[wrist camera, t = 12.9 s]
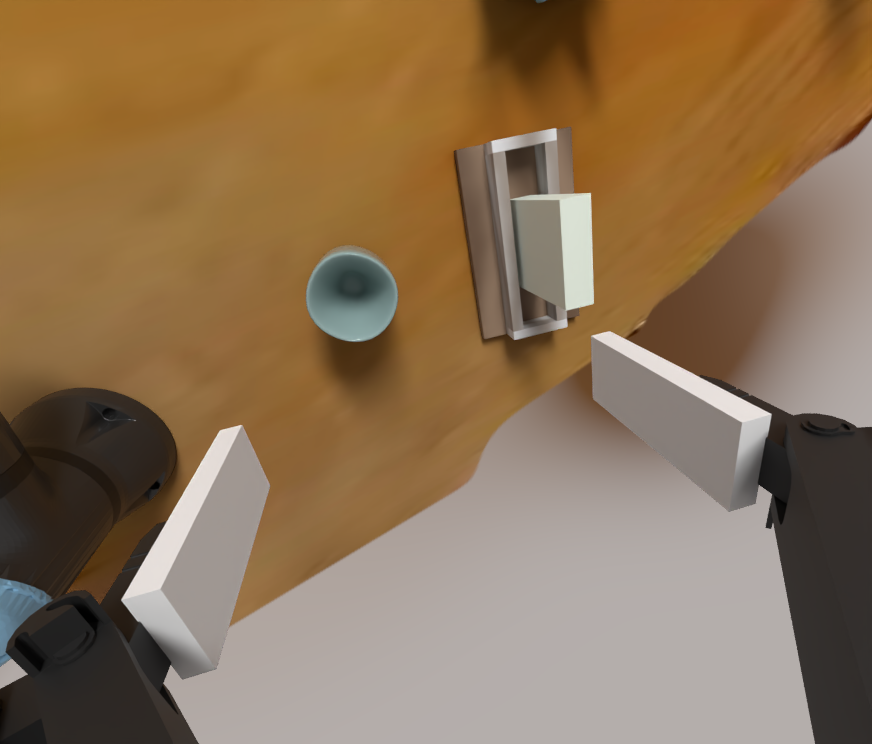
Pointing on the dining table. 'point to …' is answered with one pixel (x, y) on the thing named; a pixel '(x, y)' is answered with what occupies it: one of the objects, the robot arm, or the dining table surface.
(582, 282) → the pale rectangular block
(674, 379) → the robot arm
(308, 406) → the dining table surface
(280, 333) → the dining table surface
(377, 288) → the cup
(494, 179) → the track
